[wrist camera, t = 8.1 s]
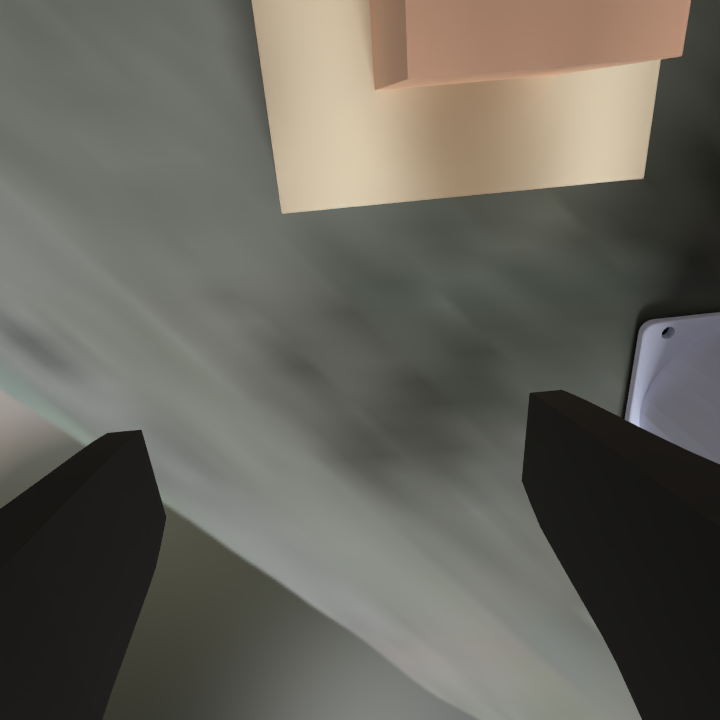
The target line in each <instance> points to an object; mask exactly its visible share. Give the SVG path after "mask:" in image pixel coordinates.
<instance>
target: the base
mask: <svg viewBox="0 0 720 720" xmlns="http://www.w3.org/2000/svg"><path fill="white" fill-rule="evenodd" d="M252 7H253V14H254V21H255V28H256V35H257V42H258V49H259V56H260V63H261V70H262V77H263V84H264V91H265V98H266V105H267V112H268V119H269V126H270V134H271V141H272V148H273V155H274V162H275V169H276V176H277V183H278V190H279V197H280V204H281V211H282V214H283V213H293V212H304V211H314V210H324V209H334V208H345V207H355V206H365V205H376V204H386V203H396V202H406V201H417V200H427V199H437V198H447V197H458V196H468V195H478V194H489V193H499V192H509V191H519V190H530V189H540V188H550V187H561V186H571V185H581V184H591V183H602V182H612V181H622V180H633V179H643V178H644V172H645V165H646V158H647V151H648V144H649V137H650V130H651V124H652V117H653V110H654V103H655V96H656V89H657V82H658V75H659V68H660V61H661V59H660V60H653V61H647V62H640V63H633V64H627V65H620V66H614V67H607V68H600V69H594V70H587V71H581V72H574V73H567V74H561V75H552V76H541V77H529V78H517V79H505V80H493V81H481V82H469V83H458V84H446V85H434V86H422V87H410V88H398V89H386V90H375V84H374V67H373V49H372V32H371V15H370V0H252Z"/></svg>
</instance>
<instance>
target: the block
mask: <svg viewBox="0 0 720 720" xmlns="http://www.w3.org/2000/svg"><path fill="white" fill-rule="evenodd" d="M690 4H691V0H370V15H371V32H372V49H373V67H374V84H375V90H386V89H398V88H410V87H422V86H434V85H446V84H458V83H469V82H481V81H493V80H505V79H517V78H529V77H541V76H552V75H561V74H567V73H574V72H581V71H587V70H594V69H600V68H607V67H614V66H620V65H627V64H633V63H640V62H647V61H653V60H660V59H666V58H673V57H680V56H682V53H683V47H684V40H685V34H686V28H687V22H688V16H689V10H690Z"/></svg>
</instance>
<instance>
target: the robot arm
mask: <svg viewBox="0 0 720 720" xmlns="http://www.w3.org/2000/svg"><path fill="white" fill-rule="evenodd" d="M667 327H669V329H668V331H667V333H665V334H664V335H662V332H663V330H664V329H665V328H667ZM522 482H523V485H524V488H525V490H526V493H527V495H528V498H529V501H530V503H531V506H532V508H533V510H534V513H535V515H536V518H537V520H538V522H539V525H540V527H541V529H542V531H543V533H544V534H545V536H546V538H547V540H548V542H549V543H550V545H551V547H552V549H553V551H554V552H555V554H556V556H557V558H558V559H559V561H560V563H561V565H562V566H563V568H564V570H565V572H566V573H567V575H568V577H569V579H570V580H571V582H572V584H573V586H574V587H575V589H576V591H577V593H578V594H579V596H580V598H581V600H582V601H583V603H584V605H585V607H586V608H587V610H588V612H589V614H590V615H591V617H592V619H593V620H594V622H595V624H596V626H597V627H598V629H599V631H600V633H601V634H602V636H603V638H604V640H605V642H606V644H607V646H608V648H609V650H610V652H611V653H612V655H613V657H614V659H615V661H616V663H617V665H618V667H619V670H620V672H621V674H622V676H623V678H624V681H625V683H626V685H627V687H628V689H629V692H630V694H631V696H632V698H633V700H634V703H635V705H636V707H637V709H638V712H639V714H640V716H641V718H642V720H720V312H716V313H706V314H697V315H688V316H679V317H670V318H660V319H652V320H649V321H647V322H645V323H644V324H643V325H642V326H641V327H640V330H639V332H638V339H637V345H636V351H635V357H634V364H633V370H632V376H631V382H630V389H629V395H628V401H627V407H626V413H625V420H624V419H622V418H620V417H619V416H617V415H615V414H613V413H611V412H609V411H607V410H605V409H603V408H601V407H599V406H597V405H594V404H592V403H590V402H588V401H586V400H584V399H582V398H580V397H578V396H575V395H573V394H571V393H568V392H566V391H563V390H556V391H545V392H535V393H530V395H529V406H528V418H527V429H526V440H525V451H524V462H523V473H522ZM165 521H166V515H165V511H164V508H163V504H162V501H161V497H160V494H159V490H158V487H157V483H156V479H155V476H154V472H153V469H152V465H151V462H150V458H149V455H148V451H147V448H146V444H145V441H144V437H143V434H142V430H135V431H124V432H114V433H107V434H105V435H103V436H102V437H100V438H98V439H97V440H95V441H94V442H92V443H91V444H89V445H88V446H86V447H85V448H84V449H82V450H81V451H79V452H78V453H76V454H75V455H74V456H72V457H71V458H70V459H68V460H67V461H65V463H63V464H61V465H60V466H59V467H57V468H56V469H55V470H53V471H52V472H51V473H49V474H48V475H47V476H45V477H44V478H42V479H41V480H40V481H38V482H37V483H35V484H34V485H33V486H31V487H30V488H29V489H27V490H26V491H24V492H23V493H22V494H20V495H19V496H18V497H16V498H15V499H13V500H12V501H11V502H9V503H8V504H7V505H5V506H4V507H2V508H1V509H0V720H102V719H103V716H104V713H105V709H106V707H107V703H108V700H109V697H110V694H111V691H112V688H113V686H114V683H115V680H116V677H117V675H118V672H119V669H120V666H121V663H122V661H123V658H124V655H125V653H126V650H127V647H128V644H129V642H130V639H131V636H132V633H133V631H134V628H135V625H136V622H137V619H138V617H139V614H140V611H141V608H142V605H143V603H144V600H145V597H146V594H147V591H148V588H149V586H150V583H151V580H152V577H153V574H154V571H155V568H156V563H157V560H158V555H159V551H160V546H161V541H162V536H163V531H164V526H165Z"/></svg>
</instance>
